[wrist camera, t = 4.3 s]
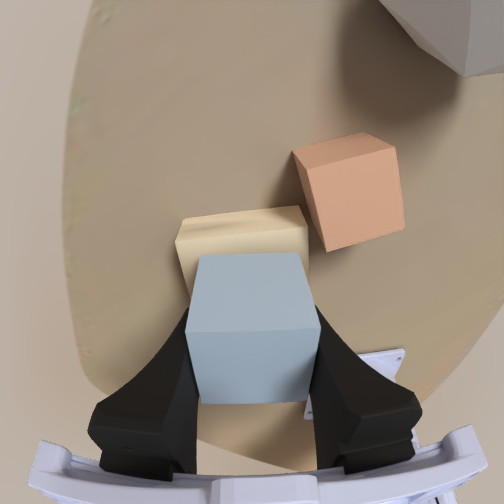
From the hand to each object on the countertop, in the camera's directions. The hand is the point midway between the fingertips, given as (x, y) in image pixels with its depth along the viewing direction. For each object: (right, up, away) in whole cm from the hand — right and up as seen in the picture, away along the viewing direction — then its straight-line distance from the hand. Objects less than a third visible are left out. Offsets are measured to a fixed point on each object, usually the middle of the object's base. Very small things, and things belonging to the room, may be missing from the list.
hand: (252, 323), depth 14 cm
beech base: (0, +3, +5) cm, 6 cm away
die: (+10, +17, -3) cm, 20 cm away
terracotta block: (+5, +7, +2) cm, 9 cm away
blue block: (0, +1, +2) cm, 2 cm away
